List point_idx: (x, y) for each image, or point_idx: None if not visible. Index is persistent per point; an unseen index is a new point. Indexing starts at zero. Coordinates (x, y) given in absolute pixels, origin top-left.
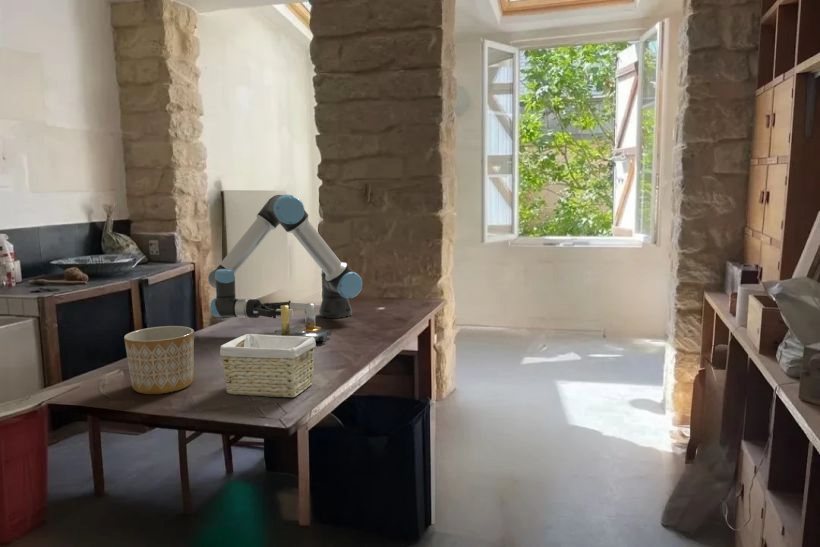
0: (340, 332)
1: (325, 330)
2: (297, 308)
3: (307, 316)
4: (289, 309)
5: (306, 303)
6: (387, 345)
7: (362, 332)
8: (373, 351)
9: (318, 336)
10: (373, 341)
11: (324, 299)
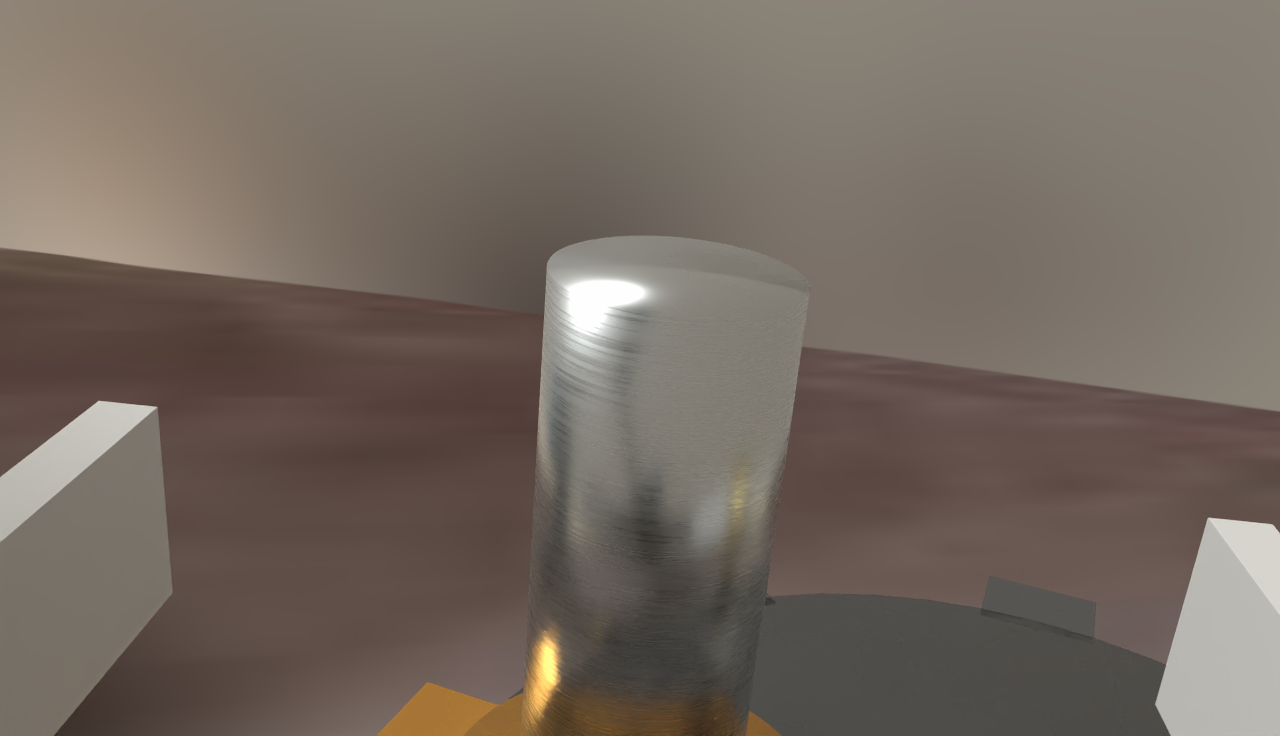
0: (303, 613)
1: None
2: (39, 708)
3: (769, 562)
4: (1262, 579)
5: (611, 301)
6: (883, 362)
7: (361, 462)
8: (1108, 411)
9: (1119, 650)
10: None
11: None
